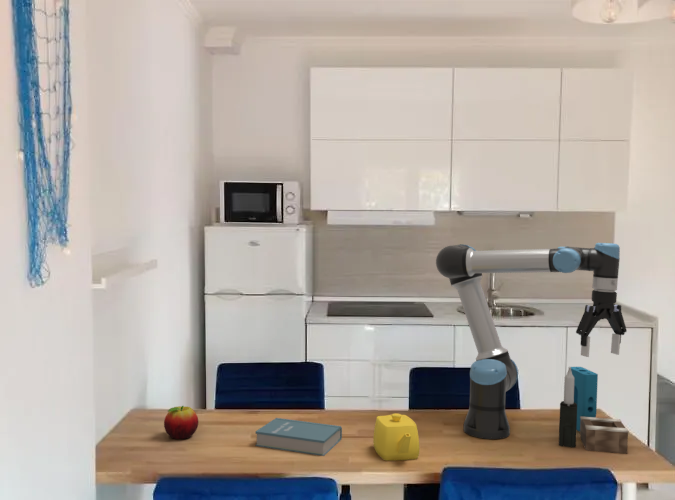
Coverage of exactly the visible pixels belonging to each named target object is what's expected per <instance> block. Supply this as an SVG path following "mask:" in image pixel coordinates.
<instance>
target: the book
mask: <svg viewBox="0 0 675 500" xmlns="http://www.w3.org/2000/svg"><path fill="white" fill-rule="evenodd" d="M342 432H343V427H342V426H341V425H334V424H327V423H320V422H319V423H318V422H311V421H305V420H304V421H302V420H297V419H288V418H280V417H275V418H274V419H272V420H270V421H268V423H266V424H265V425H263V426H262V427H260V428H259V429H257V430H256V431H255V434H256V444H255V447H261V448H268V449H274V450H282V451H289V452H295V453H301V454H307V455H315V456H323V457H325V455H327V454H328V453H329V452H330V451H331V450H332V449H333V448H335V446H337V444H338V443H339V442H341V440H342V439H343V433H342Z"/></svg>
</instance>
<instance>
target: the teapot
mask: <svg viewBox="0 0 675 500" xmlns="http://www.w3.org/2000/svg"><path fill="white" fill-rule="evenodd" d="M372 437H373V438H372V439H373V440H372V441H373V442H372V444H373V447H374V450H375V452H376V454H377V455H378V456H379V457H380V458H381V459H382V460H384V461H386V462H391V461H393V462H394V461H409V460H410V461H412V460H417V459H419V455H420V437H419V432H418V425H417V424H416V422H415V421H414V420H413V419H412V418H410V417H409V416H408V415H406V414H401V413H392V414H387V415H379V416H376V419H375V424H374V430H373V436H372Z"/></svg>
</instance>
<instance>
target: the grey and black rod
mask: <svg viewBox="0 0 675 500" xmlns="http://www.w3.org/2000/svg"><path fill="white" fill-rule="evenodd" d="M571 367H572V366H568V370H567V373H566V374H565V376H564V383H563V384H564V386H563V387H564V388H563V389H564V390H563V400H562V401H560V403H559V423H558V424H559V425H558V427H559V430H558V446H560V447H563V448H564V447H565V448H572V449H574V448H576V447H577V430H576V429H577V404H576V403H575V402H574V376H573V375H572V371H571Z"/></svg>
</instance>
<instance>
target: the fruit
mask: <svg viewBox="0 0 675 500" xmlns="http://www.w3.org/2000/svg"><path fill="white" fill-rule="evenodd" d="M163 427H164V430H165V433H166V434H167V435H168V436H169V437H170V438H171V439H175V440H184V439H189V438H191V437H192V436H193V435H194V434H196V431H197V429H198V427H199V417H198V415H197V413H196V412H195V410H194V409H193V408H192V407H190V406H184V405H181V406H174V407H170V408H169V409H168V410H167V414H166V415H165V417H164V421H163Z"/></svg>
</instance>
